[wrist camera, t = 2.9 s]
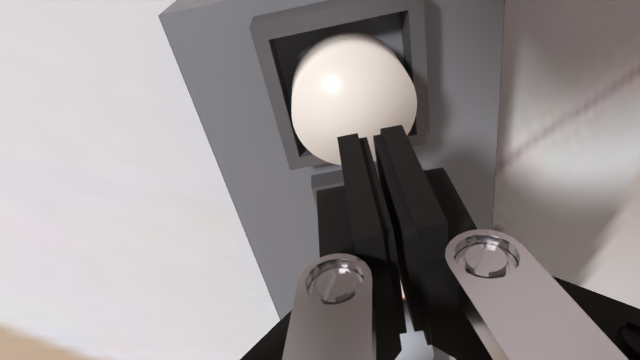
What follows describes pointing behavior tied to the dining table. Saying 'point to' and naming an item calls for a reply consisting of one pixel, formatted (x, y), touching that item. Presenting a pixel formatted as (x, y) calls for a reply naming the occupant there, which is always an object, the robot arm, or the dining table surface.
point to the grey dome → (414, 343)
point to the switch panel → (276, 100)
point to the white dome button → (349, 93)
